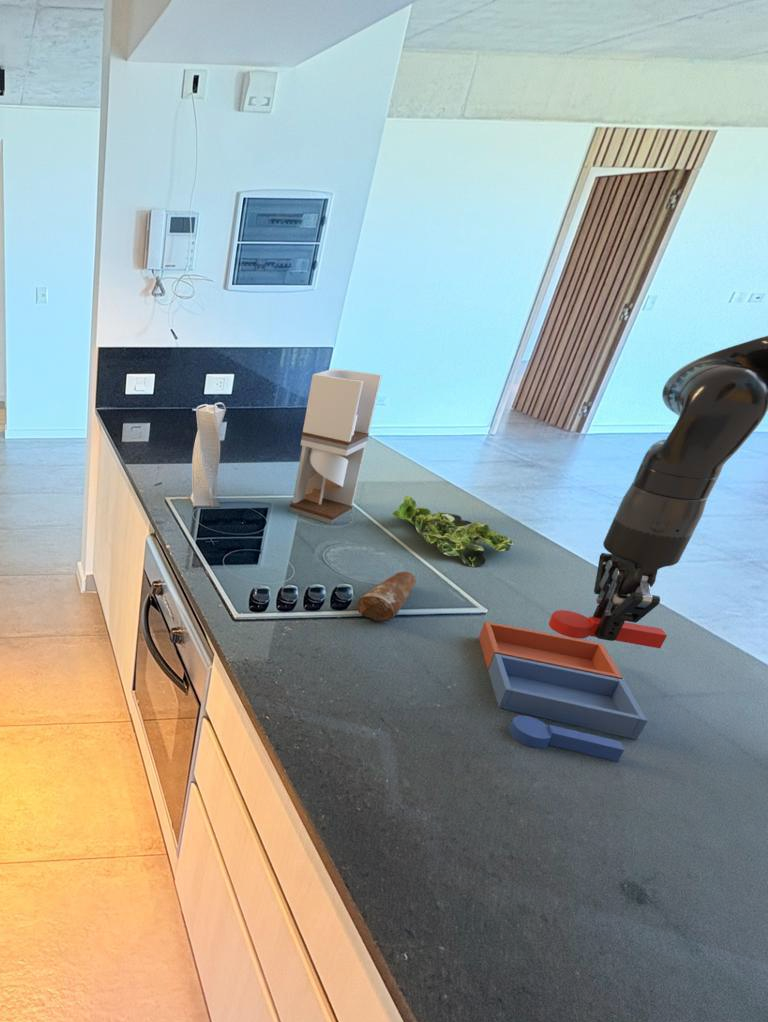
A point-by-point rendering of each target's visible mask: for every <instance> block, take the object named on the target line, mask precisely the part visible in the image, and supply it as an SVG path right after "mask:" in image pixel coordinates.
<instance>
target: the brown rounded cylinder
mask: <svg viewBox="0 0 768 1022" xmlns="http://www.w3.org/2000/svg"><path fill="white" fill-rule="evenodd" d="M416 583H417V578H416V577H415V575H414V574H413V573H411V572H409V571H399V572H397V573H395V574H394V575H392V576H390V577H388V578H387V579H385V580H384V581H382V582H381V583H379V584H378V585H376V586H375V587H373V588H372V589H370V590H369V591H368V592H366V593H365V594H364V595H362V597H360V599H359V600H358V602H357V605H356V606H357V611H358V613H359V614H360V615H361V616H362V617H366V618H369V619H371V620H374V621H377V622H388V621H391V620H392V619H393V618H395V617H396V615H398V613H399V611H400V610H401V608H402V607H403V606H404V604H405V602H406V600H407V599H408V597H409V595H410V594H411V592H412V591H413V589H414V587H415V585H416Z"/></svg>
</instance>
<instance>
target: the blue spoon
mask: <svg viewBox="0 0 768 1022" xmlns="http://www.w3.org/2000/svg"><path fill="white" fill-rule="evenodd" d="M508 732H509V734H510V736H511V737H513V738H514V739H515V740H516V741H517V742H518V743H521V744H522V745H525V746H528V747H531V748H537V749H541V748H546V747H547V746H552V747H556V748H560V749H564V750H569V751H573V752H577V753H580V754H585V755H589V756H593V757H596V758H602V759H606V760H608V761H613V762H619V760H620V759H621V757H622V755H623V753H624V751H625V748H624V746H623V745H622V743H621V741H620V740H616V739H611V738H607V737H604V736H599V735H595V734H591V733H587V732H582V731H577V730H574V729H570V728H565V727H560V726H556V725H552V724H549V725H548V724H546V723H545V722H543V721H541V720H539V719H537V718H535V717H534V716H530V715H517V716H514V717H513V718H512V721H511V723H510V725H509V727H508Z"/></svg>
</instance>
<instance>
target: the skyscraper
mask: <svg viewBox="0 0 768 1022" xmlns="http://www.w3.org/2000/svg"><path fill="white" fill-rule="evenodd" d="M218 405H222V407H223V408H219V407H218ZM226 412H227V407H226V405H225V404H224V403H223V402H220V401H217V402H215V403H214V404H208V403H204V404H200V405H197V407H196V408H195V414H196V424H197V425H196V427H197V432H196V435H195V440H194V444H193V450H192V461H191V486H192V487H191V488H192V490H191V491H192V492H191V495H188V498H189V500H190V503H191V505H192V507H193V508H221V504H220V503H219V501H218V499H217V497H216V492H217V486H218V485H217V478H218V472H219V465H220V460H221V438H220V437H221V436H220V428H221V426H222V423H223V420H224V417H225V414H226Z"/></svg>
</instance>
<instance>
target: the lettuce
mask: <svg viewBox="0 0 768 1022" xmlns="http://www.w3.org/2000/svg"><path fill="white" fill-rule="evenodd" d="M392 516H393V517H395V518H397V519H400V520H404V521H406V522H410V523H411V524H412V525H414V526H415V529H416V532H417V533H418V534H420V536H422V538H424V541H426V542H427V543H428V544H435V542H436V543H437V544H436V546H437V550H439V552H440V553H441V554H443V555H446V556H448V557H456V556H458V557H459V559H460V560H461V562H462V564H463V565H465V566H468V567H471V568H480V567H482V566H483V565H485V564H486V563H487V562H486V557H485V556H484V553H485V549H484V547H483V546H482V545H479V543H483V544H485V545H486V546H489V547H491V548H492V549H494V551H497V552H504V551H507V552H508V551H510V550H511V546H513V545H515V542H514V541H513V540H512V539H511V538H510V537H509V536H508V535H503V534H502V533H499V532H497V531H493V530H491V528H490V526H489V524H488V523H485V522H479V521H477V522H472V521H470V520H463V519H462V516H461V515H458V514H454V513H448V512H443V511H441V510H440V511H439V512H437V513H433V512H432V511H431V510H430V509H429V508H426V507H417V502H416V500H415V499H413V498H412V497H411V496H408V495H405V496H404V497H403V502H402V503H400V505H399V508H398V509H396V510H395V511H393V513H392ZM468 525H469V526H468Z"/></svg>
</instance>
